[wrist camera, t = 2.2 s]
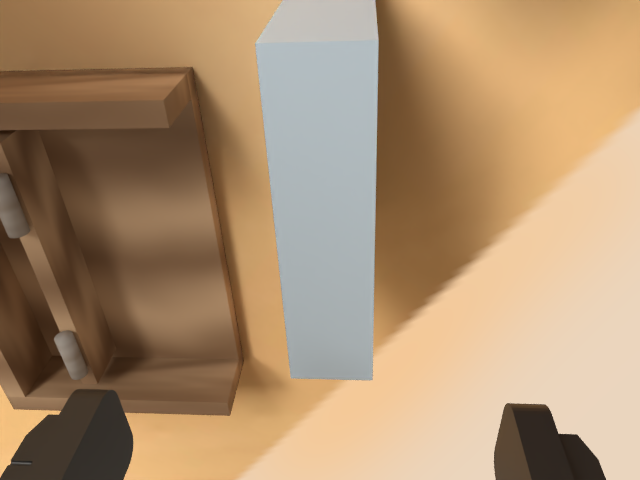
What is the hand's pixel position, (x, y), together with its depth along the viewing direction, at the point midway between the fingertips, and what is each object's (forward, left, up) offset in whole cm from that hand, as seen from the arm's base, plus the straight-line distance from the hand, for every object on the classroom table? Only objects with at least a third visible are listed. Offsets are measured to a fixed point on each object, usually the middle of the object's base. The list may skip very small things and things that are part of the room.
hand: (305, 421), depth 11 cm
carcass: (+8, -14, -18) cm, 24 cm away
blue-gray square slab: (0, 0, -18) cm, 18 cm away
